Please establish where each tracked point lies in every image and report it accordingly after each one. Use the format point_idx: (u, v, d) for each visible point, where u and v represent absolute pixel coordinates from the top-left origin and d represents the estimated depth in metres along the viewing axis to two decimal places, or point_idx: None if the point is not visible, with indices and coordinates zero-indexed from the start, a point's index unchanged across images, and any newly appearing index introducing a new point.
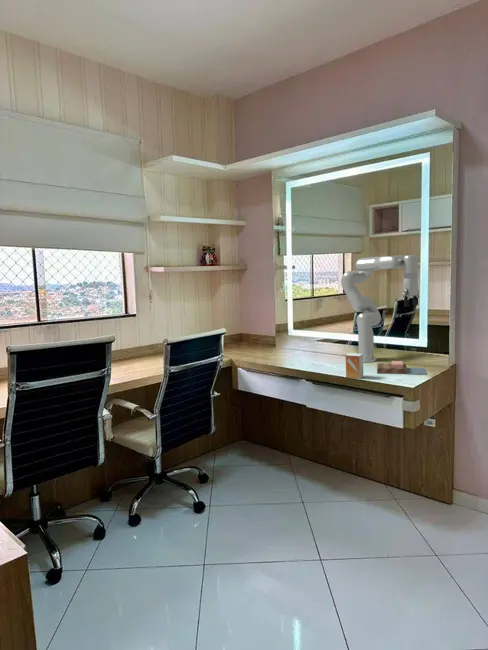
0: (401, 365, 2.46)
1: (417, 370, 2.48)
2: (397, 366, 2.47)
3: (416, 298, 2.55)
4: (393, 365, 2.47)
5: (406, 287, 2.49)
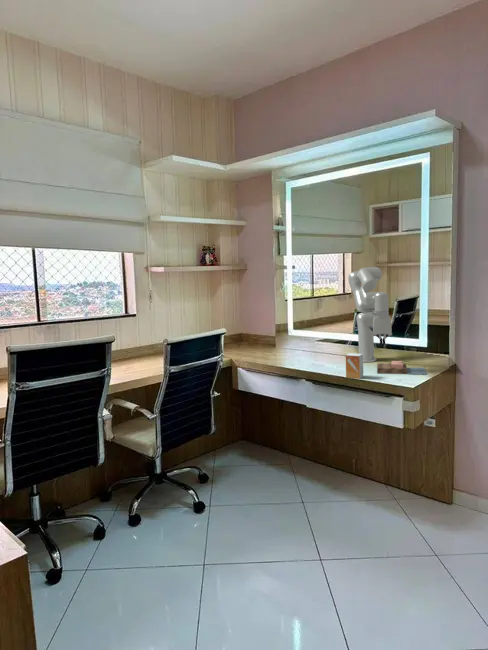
0: (401, 365, 2.46)
1: (417, 370, 2.48)
2: (397, 366, 2.47)
3: None
4: (393, 365, 2.47)
5: None
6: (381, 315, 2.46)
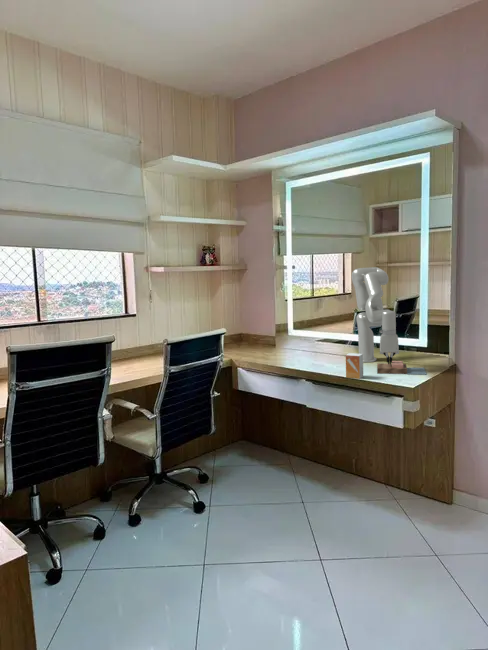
0: (401, 365, 2.46)
1: (417, 370, 2.48)
2: (397, 366, 2.47)
3: None
4: (393, 365, 2.47)
5: None
6: (388, 334, 2.46)
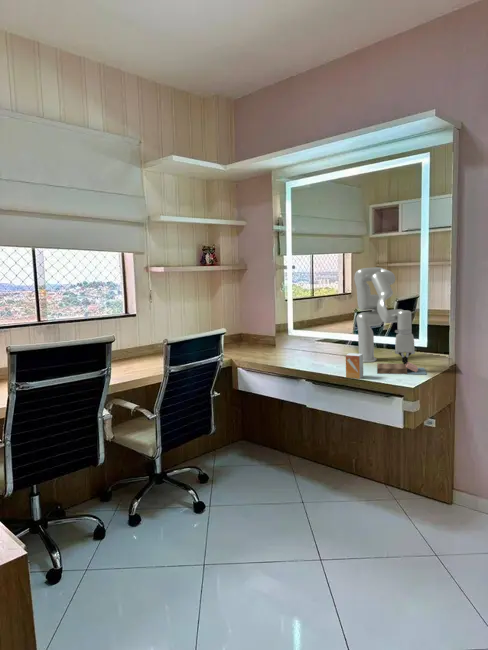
0: (416, 369, 2.44)
1: (417, 370, 2.48)
2: (412, 368, 2.45)
3: None
4: (408, 366, 2.45)
5: None
6: (404, 333, 2.44)
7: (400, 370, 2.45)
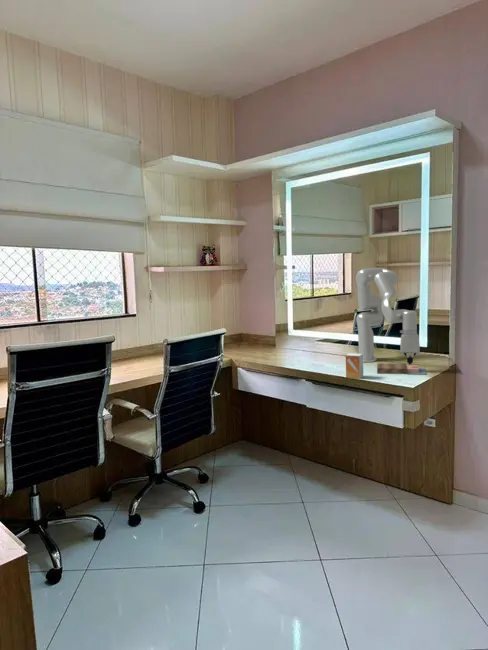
0: (417, 370, 2.44)
1: None
2: (413, 371, 2.45)
3: None
4: (409, 370, 2.45)
5: None
6: (409, 334, 2.43)
7: (400, 370, 2.45)
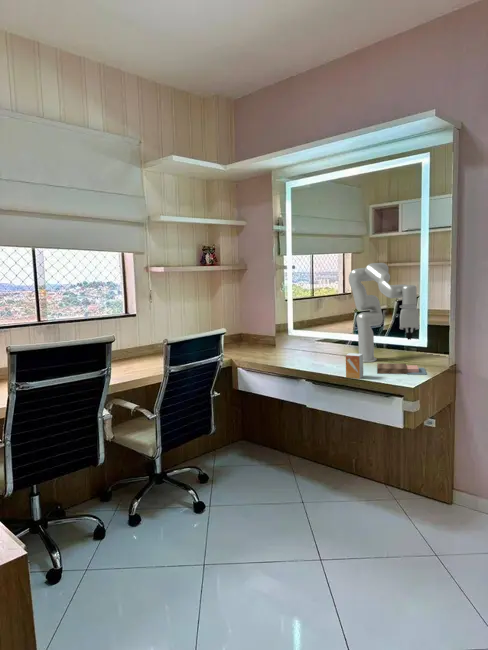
0: (417, 370, 2.44)
1: None
2: (413, 371, 2.45)
3: None
4: (409, 370, 2.45)
5: None
6: (409, 308, 2.41)
7: (400, 370, 2.45)
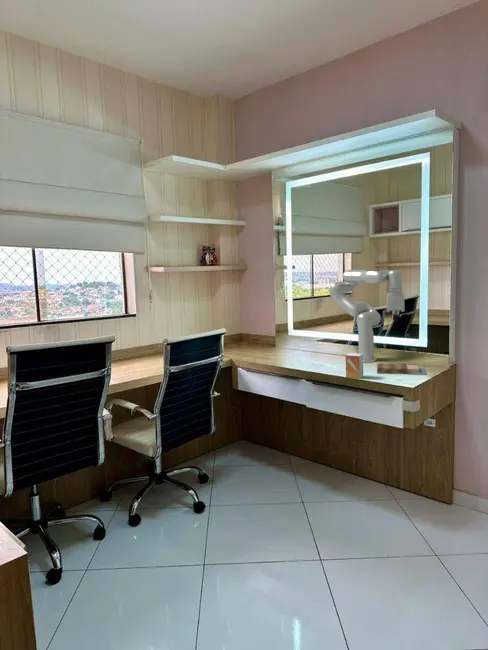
0: (417, 370, 2.44)
1: None
2: (413, 371, 2.45)
3: None
4: (409, 370, 2.45)
5: None
6: (395, 292, 2.58)
7: (400, 370, 2.45)
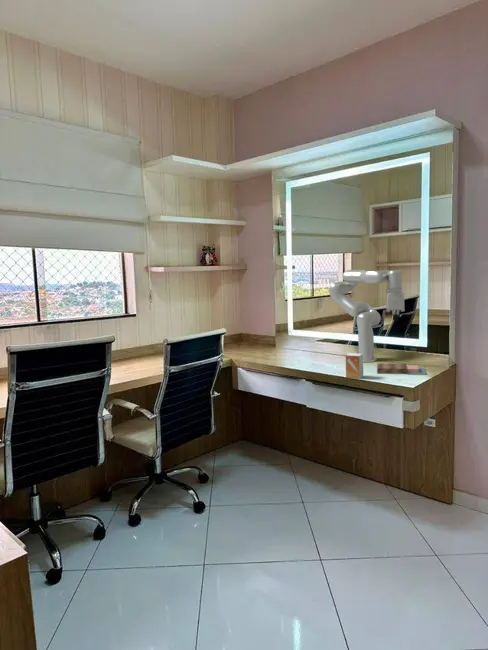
0: (417, 370, 2.44)
1: None
2: (413, 371, 2.45)
3: None
4: (409, 370, 2.45)
5: None
6: (395, 291, 2.58)
7: (400, 370, 2.45)
